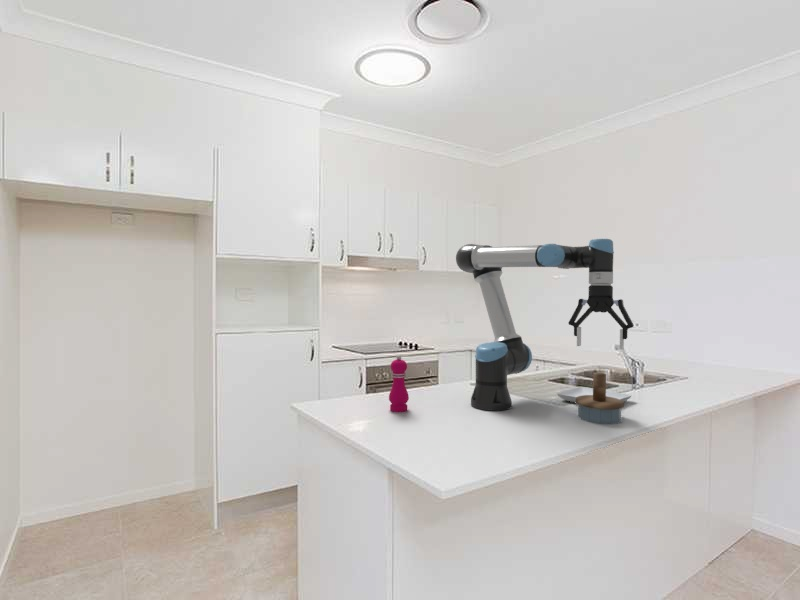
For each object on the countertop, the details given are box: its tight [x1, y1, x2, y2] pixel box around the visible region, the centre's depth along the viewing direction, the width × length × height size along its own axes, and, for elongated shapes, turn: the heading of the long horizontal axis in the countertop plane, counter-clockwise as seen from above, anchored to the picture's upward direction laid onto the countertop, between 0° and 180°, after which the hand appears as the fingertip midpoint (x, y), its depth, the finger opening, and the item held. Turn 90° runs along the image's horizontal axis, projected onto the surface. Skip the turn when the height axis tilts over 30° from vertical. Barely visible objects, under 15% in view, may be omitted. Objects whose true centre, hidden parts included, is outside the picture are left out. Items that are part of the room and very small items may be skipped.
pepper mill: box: [388, 354, 410, 413], centre depth 166 cm, size 7×7×20 cm
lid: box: [575, 372, 625, 409], centre depth 155 cm, size 15×15×10 cm
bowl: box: [577, 404, 622, 425], centre depth 155 cm, size 13×13×5 cm
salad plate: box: [556, 386, 632, 403], centre depth 179 cm, size 21×21×3 cm
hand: (599, 347), depth 155 cm, fingers open, 13 cm apart
